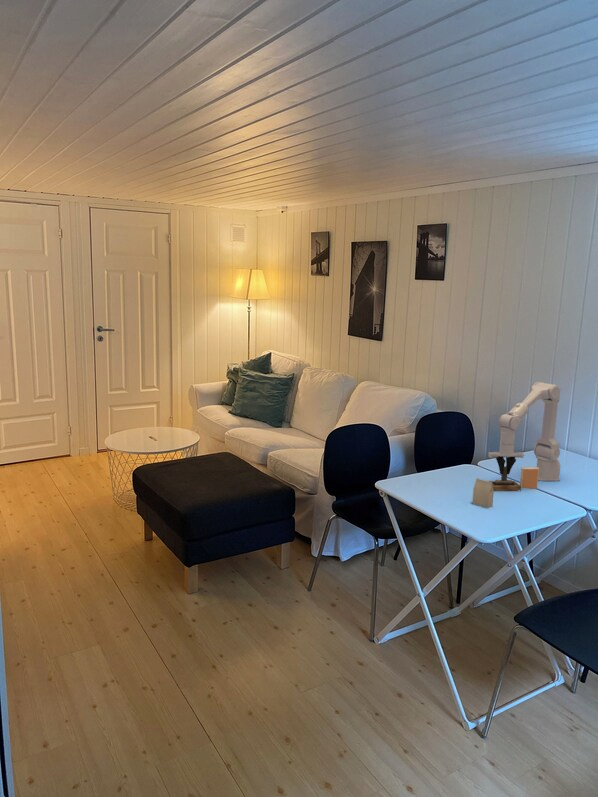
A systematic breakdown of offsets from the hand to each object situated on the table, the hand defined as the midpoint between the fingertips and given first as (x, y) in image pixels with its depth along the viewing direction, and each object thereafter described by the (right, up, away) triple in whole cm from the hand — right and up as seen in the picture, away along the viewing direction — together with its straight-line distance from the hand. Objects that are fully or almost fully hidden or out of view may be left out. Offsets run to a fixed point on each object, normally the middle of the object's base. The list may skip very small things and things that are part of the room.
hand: (504, 473), depth 261 cm
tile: (+11, -6, +2) cm, 13 cm away
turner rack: (0, -6, +1) cm, 6 cm away
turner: (0, -6, +1) cm, 6 cm away
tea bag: (-15, -10, -18) cm, 26 cm away
